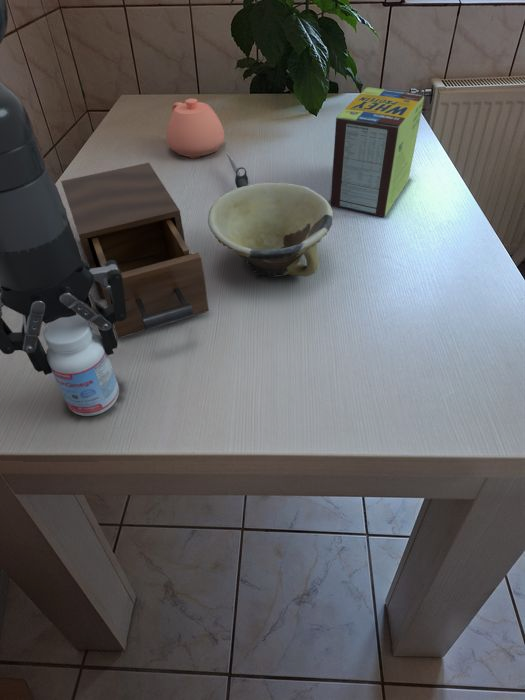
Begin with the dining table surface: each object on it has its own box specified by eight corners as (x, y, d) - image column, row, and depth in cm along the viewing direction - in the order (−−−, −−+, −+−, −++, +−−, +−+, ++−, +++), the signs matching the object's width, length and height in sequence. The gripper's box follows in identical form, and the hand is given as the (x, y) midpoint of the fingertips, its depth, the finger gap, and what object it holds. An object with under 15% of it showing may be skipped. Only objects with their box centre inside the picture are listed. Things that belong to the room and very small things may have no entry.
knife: (221, 163, 101) (220, 139, 97) (233, 162, 101) (231, 138, 98) (246, 214, 89) (245, 189, 85) (258, 212, 89) (258, 187, 85)
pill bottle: (58, 413, 58) (23, 344, 50) (84, 375, 62) (55, 305, 54) (106, 422, 56) (77, 353, 48) (129, 382, 61) (106, 313, 53)
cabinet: (190, 273, 76) (179, 210, 68) (100, 298, 72) (78, 234, 65) (160, 222, 87) (149, 162, 79) (81, 241, 83) (60, 180, 76)
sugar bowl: (189, 167, 102) (181, 115, 95) (154, 146, 110) (145, 97, 102) (236, 150, 107) (233, 100, 100) (200, 131, 115) (194, 83, 108)
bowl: (191, 264, 78) (182, 208, 71) (278, 222, 86) (277, 169, 79) (264, 319, 68) (261, 261, 61) (354, 267, 76) (360, 210, 69)
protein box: (409, 180, 95) (425, 93, 84) (384, 218, 86) (399, 126, 75) (357, 170, 99) (366, 85, 88) (328, 205, 89) (334, 116, 78)
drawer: (222, 334, 65) (215, 280, 58) (127, 365, 61) (109, 310, 55) (176, 253, 78) (166, 201, 72) (96, 274, 75) (79, 221, 69)
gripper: (97, 187, 47) (135, 320, 59) (-69, 223, 43) (7, 357, 55) (114, 224, 42) (151, 361, 54) (-72, 269, 38) (12, 405, 50)
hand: (78, 359), depth 54 cm, fingers closed on pill bottle, 6 cm apart
